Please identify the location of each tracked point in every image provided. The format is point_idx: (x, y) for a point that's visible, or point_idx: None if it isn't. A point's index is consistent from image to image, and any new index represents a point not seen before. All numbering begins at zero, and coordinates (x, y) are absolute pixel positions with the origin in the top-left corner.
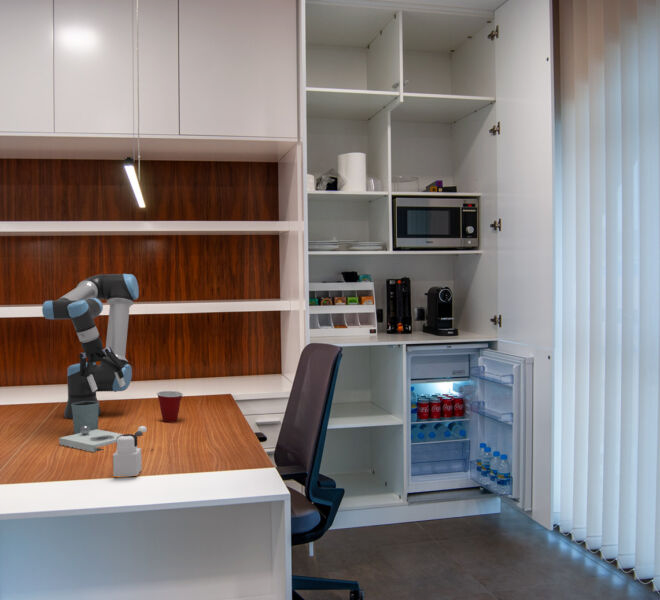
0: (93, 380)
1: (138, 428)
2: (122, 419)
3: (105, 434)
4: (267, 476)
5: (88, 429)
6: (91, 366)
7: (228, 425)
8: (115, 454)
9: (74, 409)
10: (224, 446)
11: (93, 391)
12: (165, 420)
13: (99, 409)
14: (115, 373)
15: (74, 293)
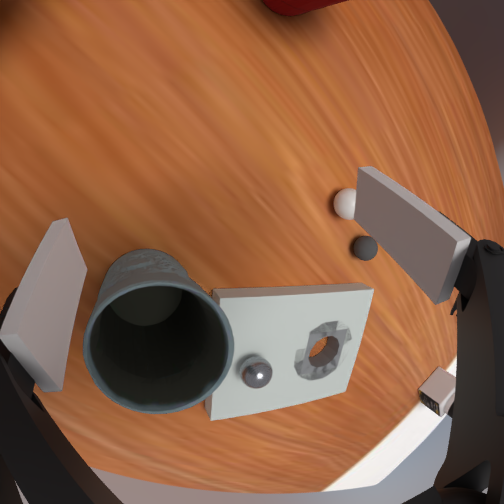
0: (46, 290)
1: (349, 217)
2: (78, 33)
3: (304, 324)
4: None
5: (272, 370)
6: (84, 479)
7: (433, 39)
8: (443, 414)
9: (162, 398)
10: (484, 205)
11: (84, 272)
12: (287, 14)
13: None
14: (433, 294)
15: None
